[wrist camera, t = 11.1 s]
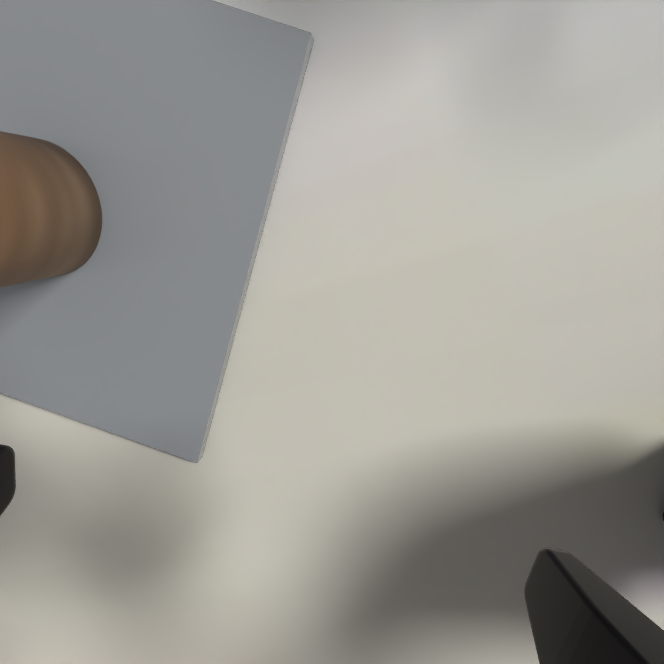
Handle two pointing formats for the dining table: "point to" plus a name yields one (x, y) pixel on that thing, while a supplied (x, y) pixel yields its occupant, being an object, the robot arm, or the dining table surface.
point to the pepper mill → (44, 211)
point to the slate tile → (146, 202)
